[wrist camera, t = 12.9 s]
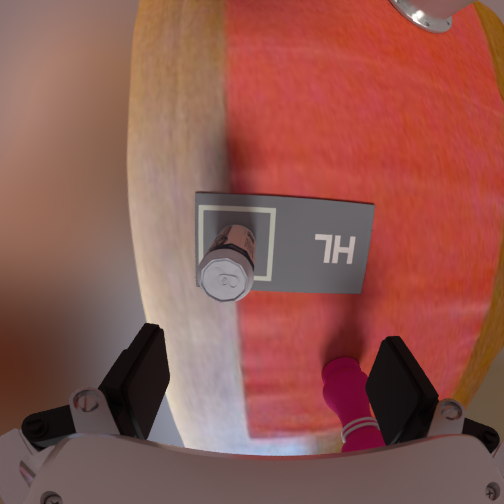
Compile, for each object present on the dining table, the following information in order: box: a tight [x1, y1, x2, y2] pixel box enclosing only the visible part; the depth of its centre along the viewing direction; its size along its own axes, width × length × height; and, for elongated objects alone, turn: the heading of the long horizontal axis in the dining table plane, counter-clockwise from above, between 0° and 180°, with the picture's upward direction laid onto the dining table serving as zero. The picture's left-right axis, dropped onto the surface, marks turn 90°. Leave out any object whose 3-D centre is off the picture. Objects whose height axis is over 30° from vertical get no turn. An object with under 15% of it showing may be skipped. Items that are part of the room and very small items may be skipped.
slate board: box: [195, 193, 375, 294], centre depth 33 cm, size 12×22×1 cm, turn 87°
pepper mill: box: [322, 357, 386, 453], centre depth 30 cm, size 7×7×20 cm
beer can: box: [197, 224, 256, 303], centre depth 28 cm, size 5×5×12 cm
